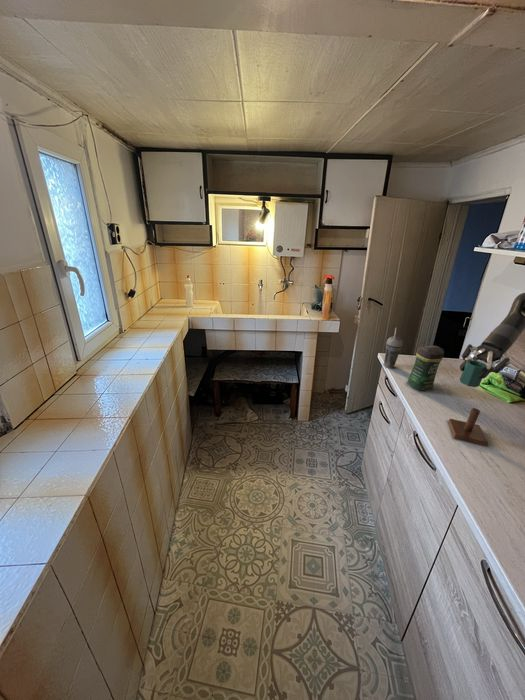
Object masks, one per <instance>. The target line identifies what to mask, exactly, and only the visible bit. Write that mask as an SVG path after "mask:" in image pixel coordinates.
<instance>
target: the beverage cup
mask: <svg viewBox="0 0 525 700" xmlns="http://www.w3.org/2000/svg"><path fill="white" fill-rule="evenodd" d="M403 343H404V342H403V340H402V338H401V337H400V336H397V327H395V328H394V335H393V336H390V337H389V338H388V339H387V340H386V343H385V354H384V360H383V366H384V367H385V368H387V369H395V368H394V367H395V365H396V363H397V360H398V357H399V355H400V352H401V350H402V348H403Z"/></svg>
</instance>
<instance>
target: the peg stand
mask: <svg viewBox="0 0 525 700" xmlns="http://www.w3.org/2000/svg"><path fill="white" fill-rule="evenodd" d="M480 413H481V410H480V409H478V408H476V407H473V408H472V409H471V410H470V413H469V415H468V417H467V420H466V421H463V420H458V419H454V418H449V419H448V425H449V428H450V431H451V433H452V436H453V438H454V439H456V440H460V441H464V442H469V443H473V444H476V445H481V446H484V447H487V445H488V444H489V442H488V439H487V437H486V436H485V433H484V431H483V430H482V428H481V426H480V424H476V423H477V420H478V418H479V416H480Z"/></svg>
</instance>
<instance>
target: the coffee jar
mask: <svg viewBox="0 0 525 700" xmlns="http://www.w3.org/2000/svg"><path fill="white" fill-rule="evenodd" d="M415 355H416V356H415V361H414V363H413V366H412V369H411V372H410V374H409V377H408V379H407V384H408V386H409V387H410V388H412V389H414V390H417V391H427V390H431V389H433V387H434V384H435V379H436V375H437V372H438V369H439V366H440V363H441V362H442V360H443V359H444V355H445V351H444V348H442V347H439V346H437V345H428V346H427V345H426V346H420V347H418V349H417V351H416V354H415Z"/></svg>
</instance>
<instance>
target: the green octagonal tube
mask: <svg viewBox="0 0 525 700" xmlns="http://www.w3.org/2000/svg"><path fill="white" fill-rule="evenodd" d="M485 368H487V364H485V362H482V361H480V360H477V361H473V360H469V361H466V364H465V367H464V369H463V371H461V372H462V373H461V375H460V377H459V381H460V383H461V384H463V385H465V386H467V387H470V388H471V387H472V388H477V387H480V385H481V382H482V381H483V378H482V379H479V377H478V376H479V374H480V373H481V372H482V371H483V370H484V369H485Z"/></svg>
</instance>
